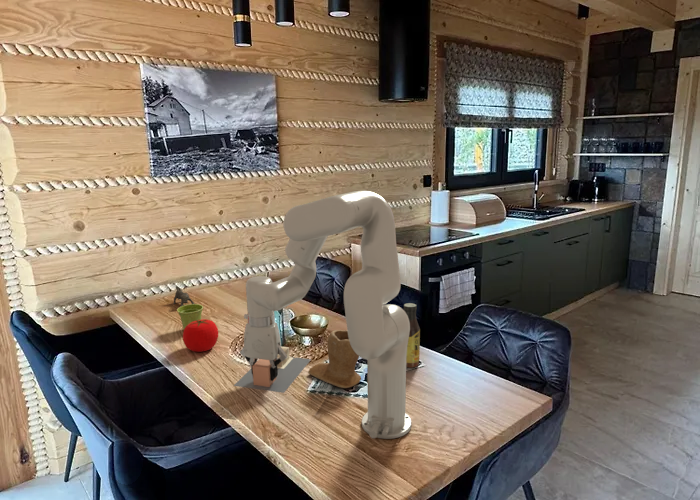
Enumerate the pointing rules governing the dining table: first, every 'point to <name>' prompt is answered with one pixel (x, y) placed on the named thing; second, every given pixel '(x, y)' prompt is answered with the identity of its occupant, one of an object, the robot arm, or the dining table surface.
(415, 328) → the sauce bottle
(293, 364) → the build board
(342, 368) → the tan boot
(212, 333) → the tomato
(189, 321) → the plant pot
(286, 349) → the birch block
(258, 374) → the terracotta block
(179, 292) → the dog figurine
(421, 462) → the dining table surface
